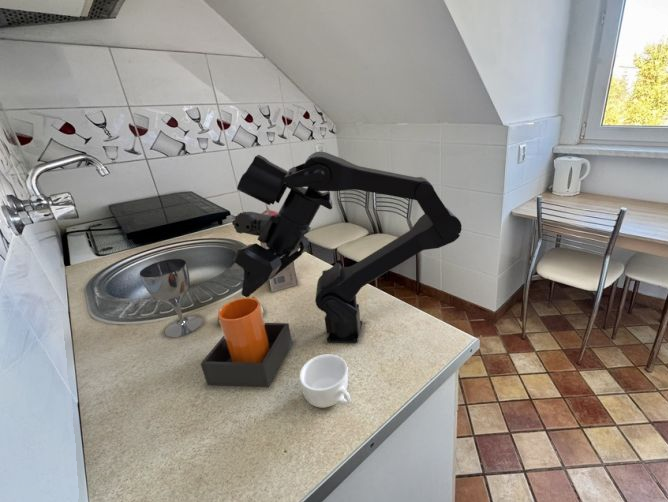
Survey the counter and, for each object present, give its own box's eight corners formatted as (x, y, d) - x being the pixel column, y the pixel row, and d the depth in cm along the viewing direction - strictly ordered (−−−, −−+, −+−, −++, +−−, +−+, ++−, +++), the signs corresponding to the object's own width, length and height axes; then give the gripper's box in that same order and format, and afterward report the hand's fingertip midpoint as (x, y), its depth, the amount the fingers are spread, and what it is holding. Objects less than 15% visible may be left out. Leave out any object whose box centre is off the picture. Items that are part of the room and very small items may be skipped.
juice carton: (272, 291, 85) (255, 212, 76) (268, 280, 90) (252, 205, 81) (297, 284, 88) (284, 208, 79) (292, 274, 93) (279, 201, 84)
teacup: (294, 397, 54) (289, 373, 52) (330, 370, 60) (327, 347, 58) (332, 433, 48) (328, 407, 46) (368, 398, 54) (366, 374, 52)
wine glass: (183, 313, 77) (164, 257, 71) (212, 317, 75) (194, 260, 69) (153, 336, 69) (129, 275, 64) (184, 340, 68) (162, 279, 62)
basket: (292, 342, 67) (288, 323, 65) (269, 387, 56) (263, 365, 55) (240, 341, 67) (234, 322, 65) (207, 385, 57) (200, 363, 55)
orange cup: (277, 348, 65) (265, 297, 60) (262, 374, 58) (248, 320, 54) (244, 347, 65) (231, 297, 60) (226, 373, 59) (209, 320, 54)
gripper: (277, 189, 66) (245, 251, 69) (224, 198, 48) (183, 281, 51) (324, 218, 67) (290, 278, 70) (290, 237, 49) (246, 317, 52)
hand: (257, 286), depth 61 cm, fingers open, 9 cm apart
